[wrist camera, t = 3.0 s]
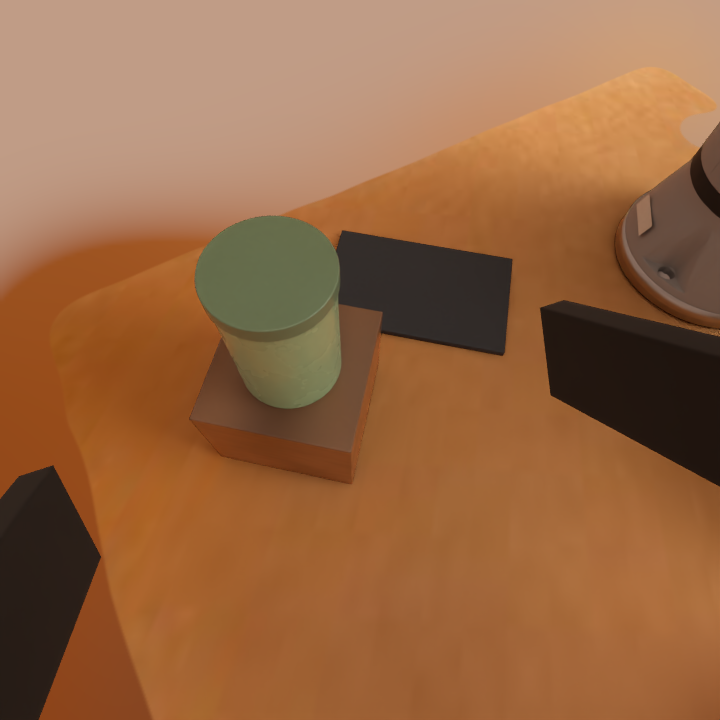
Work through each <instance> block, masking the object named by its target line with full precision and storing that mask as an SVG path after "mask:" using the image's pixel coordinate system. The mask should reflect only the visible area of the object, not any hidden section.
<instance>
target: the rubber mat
mask: <svg viewBox="0 0 720 720" xmlns="http://www.w3.org/2000/svg"><path fill="white" fill-rule="evenodd" d="M336 253H337V256H338V259H339V265H340V289H339V294H338V303H339V304H341V305H346V306H352V307H357V308H363V309H368V310H374V311H379V312H383V316H382V327H381V333H384V334H390V335H395V336H400V337H406V338H411V339H416V340H422V341H427V342H433V343H438V344H443V345H449V346H454V347H459V348H465V349H470V350H476V351H481V352H486V353H492V354H497V355H503V354H504V353H505V341H506V329H507V317H508V305H509V293H510V282H511V270H512V259H509V258H503V257H497V256H491V255H485V254H479V253H473V252H467V251H461V250H455V249H450V248H444V247H438V246H432V245H426V244H420V243H414V242H408V241H402V240H396V239H390V238H384V237H378V236H372V235H366V234H361V233H355V232H349V231H342V233H341V236H340V239H339V243H338V246H337V250H336Z"/></svg>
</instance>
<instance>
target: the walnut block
mask: <svg viewBox="0 0 720 720" xmlns="http://www.w3.org/2000/svg"><path fill="white" fill-rule="evenodd" d="M382 316H383V312H379V311H374V310H368V309H363V308H357V307H352V306H346V305H341V304H339V321H340V339H341V357H342V364H341V371H340V374H339V377H338V379H337V381H336V383H335V384H334V386H333V387H332V389H331V390H330V391H329V392H328V393H327V394H326V395H325V396H323V397H322V398H321V399H319V400H318V401H316V402H314V403H312V404H309V405H307V406H304V407H299V408H292V409H284V408H277V407H273V406H270V405H267V404H265V403H263V402H261V401H260V400H258V399H257V398H256V397H254V396H253V395H252V393H251V392H250V391H249V390H248V388H247V387H246V385H245V383H244V381H243V379H242V377H241V375H240V373H239V371H238V369H237V367H236V365H235V363H234V361H233V359H232V357H231V355H230V353H229V351H228V349H227V347H226V345H225V343H224V340H223V338H222V337H221V340H220V342H219V345H218V348H217V350H216V353H215V355H214V358H213V360H212V363H211V365H210V368H209V370H208V373H207V375H206V378H205V380H204V383H203V385H202V388H201V391H200V393H199V396H198V398H197V401H196V403H195V406H194V408H193V411H192V413H191V416H190V420H191V422H192V423H193V424H194V425H195V426H196V427H197V428H198V430H199V431H200V432H201V433H202V434H203V435H204V436H205V438H206V439H207V440H208V441H209V442H210V443H211V444H212V446H213V447H214V448H215V449H216V450H217V451H218V452H219V454H220V455H221V456H223V457H227V458H232V459H237V460H241V461H246V462H251V463H255V464H260V465H265V466H269V467H274V468H279V469H283V470H288V471H293V472H297V473H302V474H306V475H311V476H316V477H320V478H325V479H330V480H334V481H339V482H344V483H348V484H352V482H353V478H354V473H355V469H356V464H357V459H358V455H359V450H360V446H361V441H362V436H363V432H364V427H365V423H366V418H367V413H368V409H369V404H370V400H371V395H372V390H373V386H374V381H375V377H376V372H377V367H378V360H379V349H380V338H381V327H382Z"/></svg>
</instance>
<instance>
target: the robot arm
mask: <svg viewBox="0 0 720 720" xmlns="http://www.w3.org/2000/svg"><path fill="white" fill-rule="evenodd" d="M615 250H616V255H617V258H618V261H619V264H620V266H621V268H622V270H623V272H624V273H625V275H626V277H627V278H628V279H629V281H630V282H631V283H632V285H633V286H634V287H635V288H636V289H637V290H638V291H639V292H640V293H641V294H642V295H643V296H644V297H645V298H647V299H648V300H649V301H650V302H652V303H653V304H655V305H656V306H657V307H659V308H661V309H662V310H664V311H666V312H667V313H669V314H671V315H673V316H675V317H678V318H680V319H682V320H685V321H688V322H690V323H694V324H697V325H701V326H706V327H711V328H719V329H720V122H719V124H718V125H717V126H716V128H715V129H714V130H713V132H712V133H711V134H710V136H709V137H708V138H707V139H706V141H705V142H704V144H703V145H702V147H701V148H700V149H699V150H698V152H697V153H696V154H695V156H694V157H693V158H692V159H691V160H690V161H689V162H688V163H686V164H685V165H683V166H682V167H681V168H679V169H678V170H677V171H675V172H674V173H673V174H671V175H670V176H669V177H667V178H666V179H665V180H663V181H662V182H661V183H659V184H658V185H657V186H656V187H654V188H653V189H652V190H650V191H648V192H647V193H645V194H643V195H642V196H641V197H639V198H638V199H637V200H636V201H635V202H634V203H633V204H632V206H631V207H630V209H629V210H628V212H627V213H626V215H625V216H624V218H623V219H622V221H621V222H620V224H619V226H618V228H617V231H616V236H615ZM540 311H541V319H542V327H543V335H544V344H545V352H546V360H547V368H548V377H549V385H550V393H551V396H553V397H555V398H557V399H559V400H561V401H562V402H564V403H566V404H568V405H570V406H572V407H574V408H575V409H577V410H579V411H581V412H583V413H585V414H586V415H588V416H590V417H592V418H594V419H596V420H598V421H599V422H601V423H603V424H605V425H607V426H609V427H611V428H612V429H614V430H616V431H618V432H620V433H622V434H624V435H625V436H627V437H629V438H631V439H633V440H635V441H636V442H638V443H640V444H642V445H644V446H646V447H648V448H649V449H651V450H653V451H655V452H657V453H659V454H661V455H662V456H664V457H666V458H668V459H670V460H672V461H673V462H675V463H677V464H679V465H681V466H683V467H685V468H686V469H688V470H690V471H692V472H694V473H696V474H698V475H699V476H701V477H703V478H705V479H707V480H709V481H711V482H712V483H714V484H716V485H718V486H720V337H718V336H714V335H710V334H705V333H701V332H697V331H693V330H688V329H684V328H680V327H676V326H671V325H667V324H663V323H659V322H654V321H650V320H646V319H642V318H637V317H633V316H629V315H625V314H620V313H616V312H612V311H608V310H603V309H599V308H595V307H591V306H586V305H582V304H578V303H574V302H569V301H565V300H563V301H560V302H557V303H554V304H550V305H547V306H544V307H541V308H540ZM100 558H101V556H100V554H99V552H98V550H97V548H96V546H95V544H94V543H93V541H92V539H91V537H90V535H89V533H88V531H87V529H86V527H85V525H84V523H83V521H82V520H81V518H80V516H79V514H78V512H77V510H76V508H75V506H74V504H73V503H72V500H71V499H70V497H69V495H68V493H67V491H66V489H65V487H64V485H63V483H62V482H61V479H60V478H59V476H58V474H57V472H56V470H55V468H54V466H50V467H46V468H44V469H40V470H37V471H34V472H31V473H28V474H25V475H22V476H19V477H18V478H17V479H16V480H15V482H14V483H13V484H12V485H11V487H10V488H9V489H8V490H7V491H6V493H5V494H4V495H3V496H2V497H1V499H0V720H39V717H40V715H41V712H42V710H43V707H44V704H45V702H46V699H47V696H48V694H49V691H50V689H51V686H52V683H53V681H54V678H55V676H56V673H57V670H58V667H59V665H60V662H61V660H62V657H63V655H64V652H65V649H66V647H67V644H68V642H69V639H70V636H71V634H72V631H73V629H74V626H75V623H76V621H77V618H78V615H79V613H80V610H81V608H82V605H83V602H84V600H85V597H86V595H87V592H88V589H89V587H90V584H91V582H92V579H93V576H94V574H95V571H96V568H97V566H98V563H99V561H100Z"/></svg>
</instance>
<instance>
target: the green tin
mask: <svg viewBox="0 0 720 720" xmlns="http://www.w3.org/2000/svg"><path fill="white" fill-rule="evenodd" d="M195 288H196V292H197V295H198V297H199V299H200V301H201V303H202V305H203V307H204V309H205V311H206V313H207V315H208V316H209V318H210V319H211V320H212V321H213V322H214V323H215V324H216V326H217V328H218V330H219V332H220V334H221V336H222V338H223V340H224V343H225V345H226V347H227V349H228V351H229V353H230V355H231V357H232V359H233V361H234V363H235V365H236V367H237V369H238V371H239V373H240V375H241V377H242V379H243V381H244V383H245V385H246V387H247V388H248V390H249V391H250V392H251V393H252V395H253V396H254V397H256V398H257V399H258V400H260V401H261V402H263V403H265V404H267V405H270V406H273V407H277V408H284V409H292V408H299V407H304V406H307V405H309V404H312V403H314V402H316V401H318V400H319V399H321V398H322V397H323V396H325V395H326V394H327V393H328V392H329V391H330V390H331V389H332V387H333V386H334V384H335V383H336V381H337V379H338V377H339V374H340V371H341V364H342V357H341V339H340V321H339V303H338V294H339V289H340V265H339V259H338V256H337V253H336V251H335V248H334V246H333V245H332V243H331V242H330V241H329V239H328V238H327V237H326V236H325V235H324V234H323V233H322V232H321V231H319V230H318V229H317V228H315V227H313V226H312V225H310V224H308V223H306V222H304V221H301V220H298V219H295V218H290V217H284V216H261V217H255V218H251V219H248V220H244V221H241V222H239V223H236V224H234V225H232V226H230V227H228V228H226V229H225V230H224V231H222V232H220V233H219V234H218V235H217V236H216V237H215V238H213V239H212V241H211V242H210V243H209V244H208V245H207V246H206V248H205V249H204V250H203V252H202V254H201V256H200V257H199V260H198V263H197V266H196V271H195Z"/></svg>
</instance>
